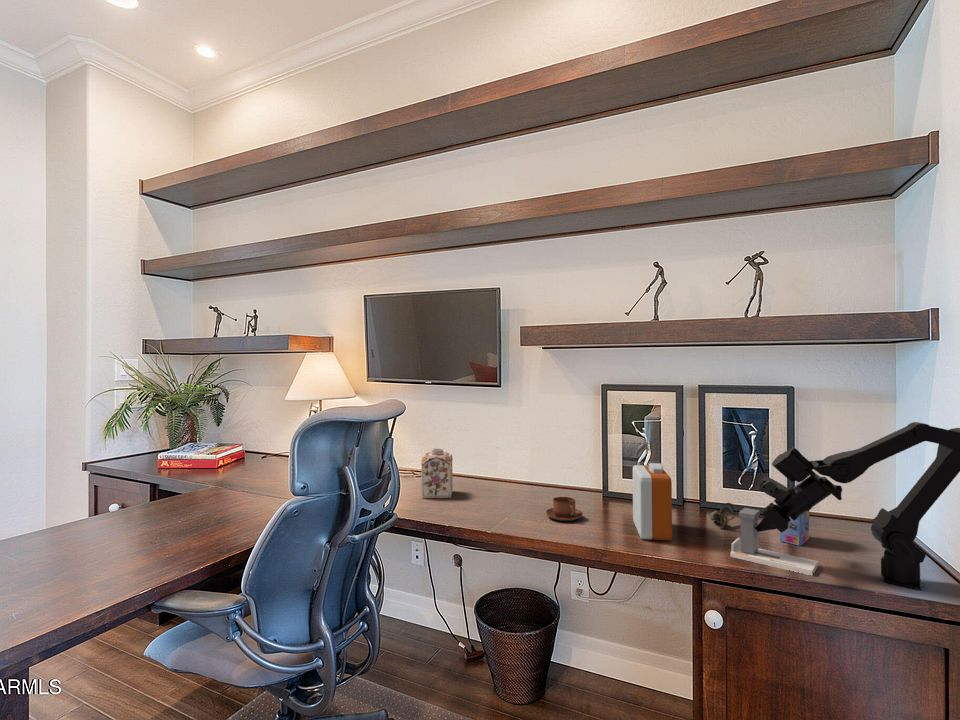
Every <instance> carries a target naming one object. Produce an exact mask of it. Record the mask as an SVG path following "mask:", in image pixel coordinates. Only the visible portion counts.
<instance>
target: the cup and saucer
mask: <svg viewBox="0 0 960 720" xmlns="http://www.w3.org/2000/svg"><path fill="white" fill-rule="evenodd" d="M545 513H546V516H548V517H549V518H551V519H553V520H557V521H561V522H562V521H563V522H564V521H565V522H570V521H576V520H579V519H581V518H582V517H583V513H584V512H582V511H581V510H580V509H576V499H575V498H573V497H568V496H557V497H553V499H552V508H549V509H546V511H545Z"/></svg>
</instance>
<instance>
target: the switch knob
mask: <svg viewBox="0 0 960 720" xmlns="http://www.w3.org/2000/svg"><path fill="white" fill-rule="evenodd" d="M760 512H761V511H760V510H759V509H753V508H748V507H744V508H742V509H741V510H739V512H738V517H739V518H740V519H739V520H740V521H739V522H740V544H741V552H746V553H750V554H754V553H755V552H756V551H757V550H758V549H759V532H758V531H757V530H756V529H755V528H756V527H757V525H758V524H759V517H760V514H761V513H760Z"/></svg>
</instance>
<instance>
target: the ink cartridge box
mask: <svg viewBox="0 0 960 720" xmlns="http://www.w3.org/2000/svg"><path fill="white" fill-rule="evenodd" d="M789 518H790V519H791V526H790V527H789V528H788V529H787V530H785V531H784V532H782V533H781V532H780V531H779V541H780V542H783V543H786V544H790V545H793V546H798V547H801V546H802V545H803V544H804V543H805V542H807V541H808V540H809V538H810V537H809V536H810V535H809V534H810V510H809V511H806V512H805V513H803V514H802V515H800V516H799V517H798V518H797V519H796V520H794V521H793V520H792V518H791V517H789Z"/></svg>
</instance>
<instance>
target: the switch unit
mask: <svg viewBox="0 0 960 720" xmlns="http://www.w3.org/2000/svg"><path fill="white" fill-rule="evenodd" d="M730 545H731V547H730V549H731V551H730V558H735V559H740V560H742V561H748V562H752V563H756V564H760V565H765V566H769V567H772V568H778V569H780V570H781V569H782V570H785V571H789V570H790V572H793V571H794V572H793V573H798V572H799V573H798V574H802V573H803V574H802V575H807V576H810V575H811V577H812V576H813V575H814V574H815V572H816V570H817V568H818V566H819V563H818V560H814V559H809V558H805V557H800V556H797V555H792V554H791V555H790V554H787V553H783V552H778V551H777V552H776V551H772V550H768V549H764V548H759V549H758V550H757V551H756V552H755V553H754V554H750V553H746V552H741V537H737V538H736V539H735V540H734V541H733V542H732V543H731V544H730ZM813 573H814V574H813Z"/></svg>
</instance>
